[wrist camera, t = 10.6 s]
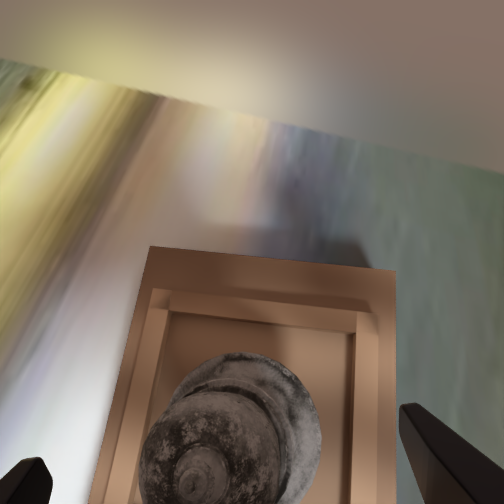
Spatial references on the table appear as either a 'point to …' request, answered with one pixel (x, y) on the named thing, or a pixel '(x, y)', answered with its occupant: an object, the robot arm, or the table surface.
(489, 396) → the table surface
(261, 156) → the table surface
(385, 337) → the walnut plinth
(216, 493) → the antique pepper shaker
